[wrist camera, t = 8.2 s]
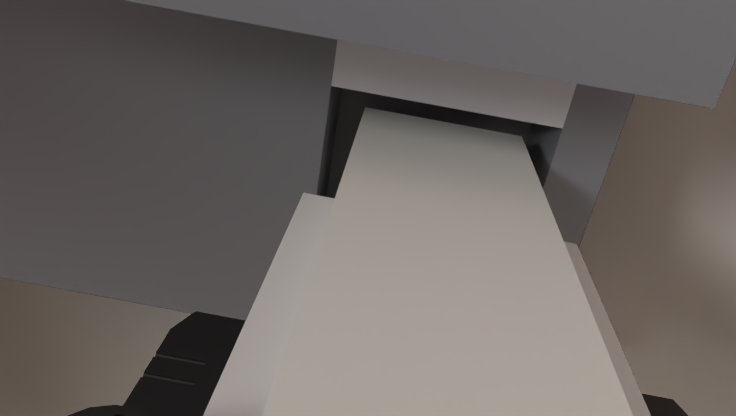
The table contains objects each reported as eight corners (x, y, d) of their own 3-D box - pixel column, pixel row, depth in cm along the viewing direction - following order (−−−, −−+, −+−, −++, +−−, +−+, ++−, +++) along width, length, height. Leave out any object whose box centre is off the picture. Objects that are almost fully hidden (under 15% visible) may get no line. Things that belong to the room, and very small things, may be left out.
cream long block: (342, 243, 17) (158, 936, 6) (365, 107, 15) (164, 707, 4) (483, 269, 17) (591, 1023, 6) (521, 136, 15) (799, 832, 4)
